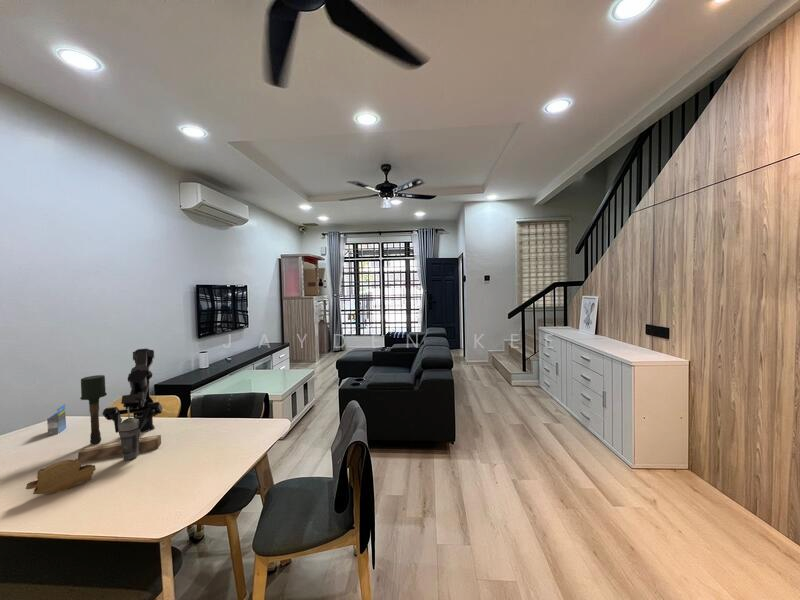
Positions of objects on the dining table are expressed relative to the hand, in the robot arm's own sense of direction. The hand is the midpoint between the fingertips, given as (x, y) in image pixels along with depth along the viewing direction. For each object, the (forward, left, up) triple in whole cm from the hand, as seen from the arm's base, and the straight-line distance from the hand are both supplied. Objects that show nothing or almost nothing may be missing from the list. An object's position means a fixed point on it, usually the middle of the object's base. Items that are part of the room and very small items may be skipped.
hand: (128, 430), depth 129 cm
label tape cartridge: (-64, -24, -12) cm, 70 cm away
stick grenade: (-31, -10, -12) cm, 35 cm away
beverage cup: (-1, +1, -11) cm, 11 cm away
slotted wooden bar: (-10, -2, -12) cm, 16 cm away
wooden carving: (+10, -18, -12) cm, 24 cm away
